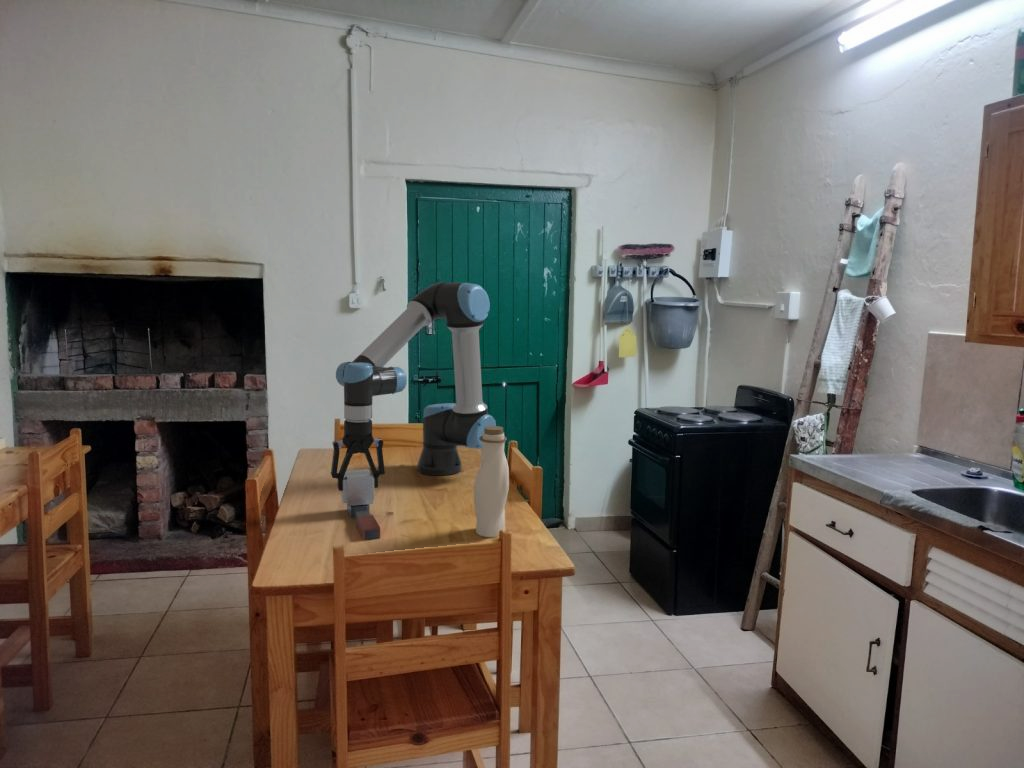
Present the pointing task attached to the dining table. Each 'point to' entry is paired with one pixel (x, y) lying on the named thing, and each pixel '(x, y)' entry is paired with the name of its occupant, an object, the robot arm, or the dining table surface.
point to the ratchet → (364, 521)
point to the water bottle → (491, 483)
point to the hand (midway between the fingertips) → (358, 500)
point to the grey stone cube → (359, 487)
